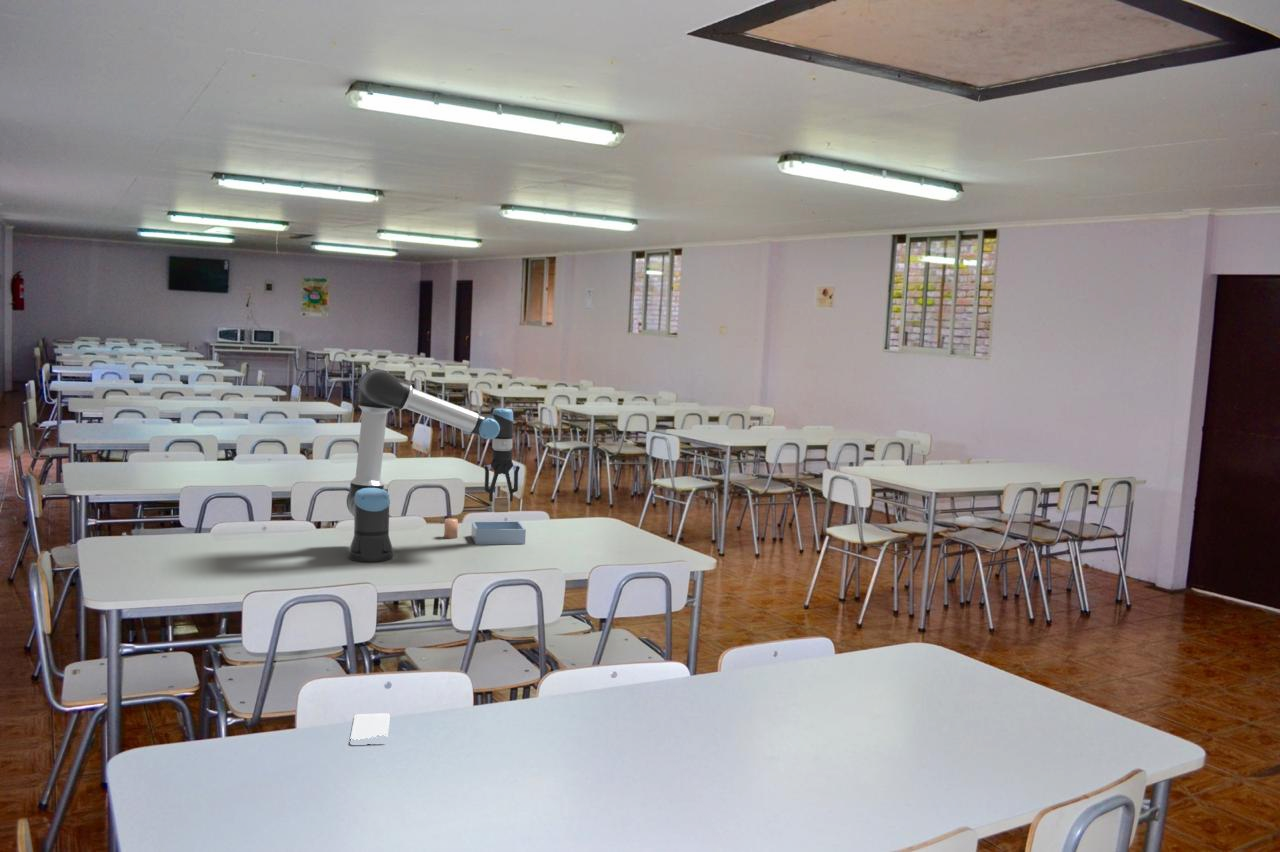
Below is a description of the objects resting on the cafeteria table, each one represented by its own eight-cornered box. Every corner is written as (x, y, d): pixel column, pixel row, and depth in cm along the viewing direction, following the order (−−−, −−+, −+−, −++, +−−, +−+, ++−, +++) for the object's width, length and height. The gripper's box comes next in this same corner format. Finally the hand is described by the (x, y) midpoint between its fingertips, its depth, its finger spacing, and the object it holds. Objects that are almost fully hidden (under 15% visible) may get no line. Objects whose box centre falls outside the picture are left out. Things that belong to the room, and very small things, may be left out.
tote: (475, 544, 372) (476, 530, 371) (471, 535, 387) (471, 521, 386) (525, 543, 377) (525, 529, 376) (518, 535, 392) (519, 521, 391)
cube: (493, 510, 378) (493, 497, 378) (506, 509, 380) (506, 496, 379) (494, 512, 374) (495, 499, 373) (508, 512, 375) (508, 499, 375)
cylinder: (444, 539, 379) (445, 521, 378) (443, 536, 384) (444, 518, 383) (458, 538, 380) (458, 520, 380) (456, 535, 385) (457, 518, 384)
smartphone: (348, 744, 194) (354, 714, 208) (348, 748, 194) (354, 717, 209) (387, 743, 195) (390, 713, 210) (387, 747, 195) (390, 716, 210)
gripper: (479, 450, 369) (477, 512, 371) (527, 450, 374) (525, 511, 376) (477, 447, 376) (475, 508, 378) (524, 448, 381) (522, 507, 383)
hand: (500, 509), depth 377 cm, fingers closed on cube, 5 cm apart
